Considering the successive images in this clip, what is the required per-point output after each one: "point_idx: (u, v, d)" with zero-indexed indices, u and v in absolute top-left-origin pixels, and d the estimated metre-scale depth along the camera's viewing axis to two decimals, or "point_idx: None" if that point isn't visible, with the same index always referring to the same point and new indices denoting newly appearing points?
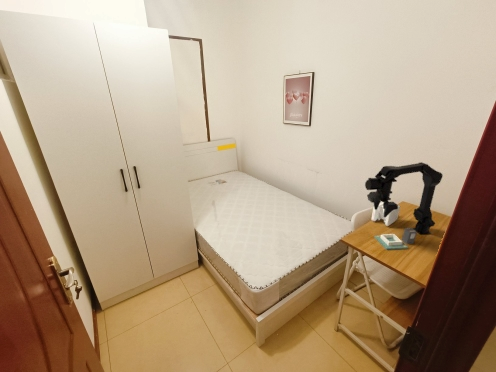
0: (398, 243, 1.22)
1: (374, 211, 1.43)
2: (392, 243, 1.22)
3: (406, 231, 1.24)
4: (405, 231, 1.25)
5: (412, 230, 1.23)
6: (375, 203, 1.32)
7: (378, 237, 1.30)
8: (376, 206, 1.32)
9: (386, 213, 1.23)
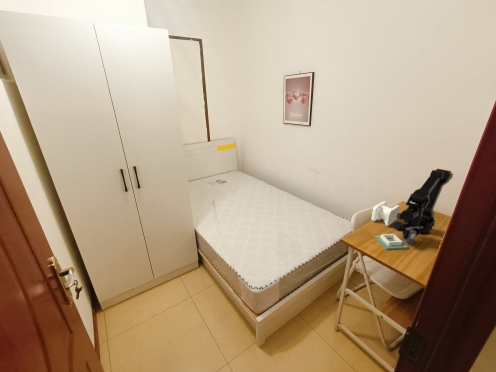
0: (398, 243, 1.22)
1: (374, 211, 1.43)
2: (392, 243, 1.22)
3: None
4: None
5: (412, 230, 1.23)
6: None
7: (378, 237, 1.30)
8: None
9: (403, 234, 1.25)
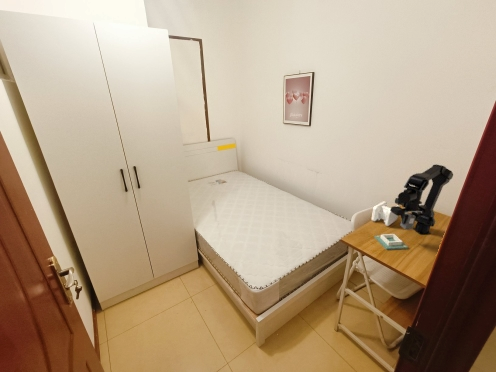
0: (398, 243, 1.22)
1: (374, 211, 1.43)
2: (392, 243, 1.22)
3: None
4: None
5: (411, 215, 1.19)
6: None
7: (378, 237, 1.30)
8: None
9: (402, 219, 1.20)
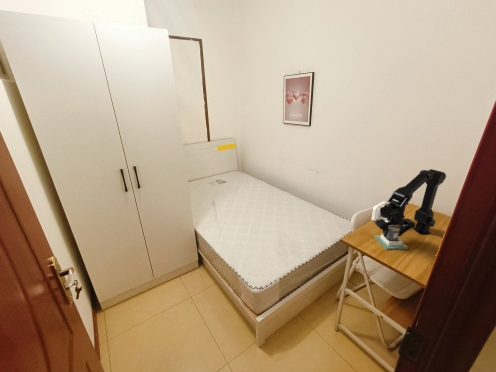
0: (398, 243, 1.22)
1: (374, 211, 1.43)
2: (392, 243, 1.22)
3: (389, 230, 1.23)
4: None
5: (395, 229, 1.22)
6: (400, 229, 1.24)
7: (378, 237, 1.30)
8: (399, 233, 1.24)
9: (383, 232, 1.24)
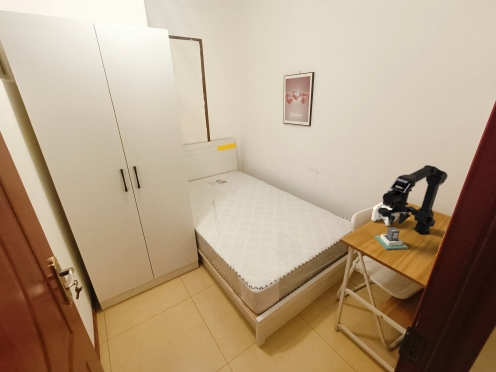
0: (398, 243, 1.22)
1: (374, 211, 1.43)
2: (392, 243, 1.22)
3: (389, 230, 1.23)
4: (388, 230, 1.24)
5: (395, 229, 1.22)
6: (399, 217, 1.21)
7: (378, 237, 1.30)
8: (399, 221, 1.21)
9: (389, 220, 1.21)
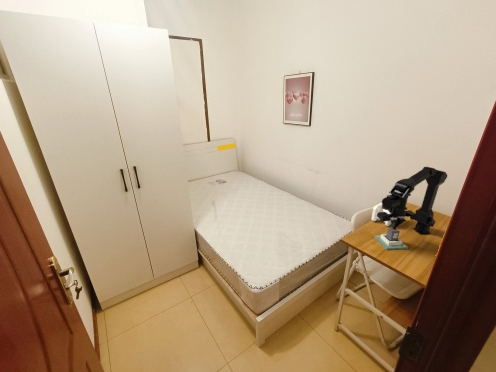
0: (398, 243, 1.22)
1: (374, 211, 1.43)
2: (392, 243, 1.22)
3: (389, 230, 1.23)
4: (388, 230, 1.24)
5: (395, 229, 1.22)
6: None
7: (378, 237, 1.30)
8: None
9: (392, 224, 1.22)
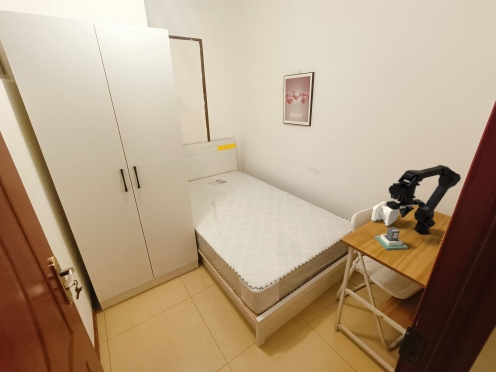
0: (398, 243, 1.22)
1: (374, 211, 1.43)
2: (392, 243, 1.22)
3: (389, 230, 1.23)
4: (388, 230, 1.24)
5: (395, 229, 1.22)
6: None
7: (378, 237, 1.30)
8: None
9: (401, 212, 1.27)
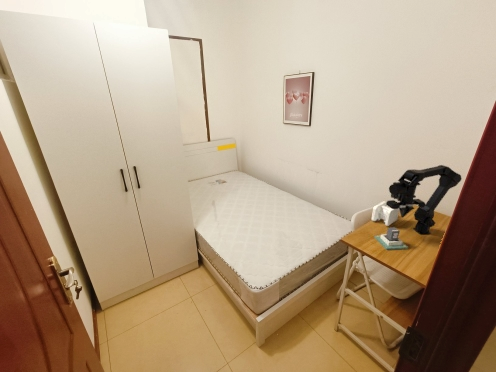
0: (398, 243, 1.22)
1: (374, 211, 1.43)
2: (392, 243, 1.22)
3: (389, 230, 1.23)
4: (388, 230, 1.24)
5: (395, 229, 1.22)
6: None
7: (378, 237, 1.30)
8: None
9: (401, 212, 1.27)
